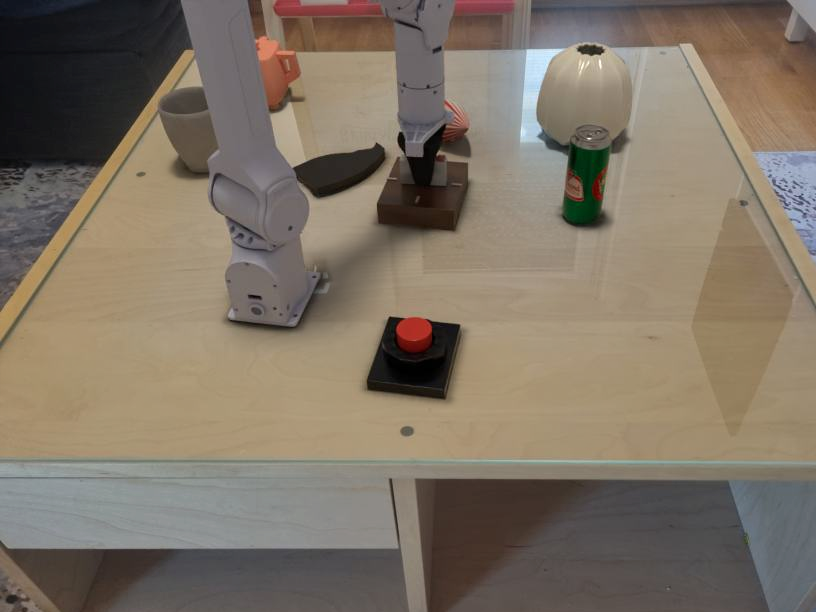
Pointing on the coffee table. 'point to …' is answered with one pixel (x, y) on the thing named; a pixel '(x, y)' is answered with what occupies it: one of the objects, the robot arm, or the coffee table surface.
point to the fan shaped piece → (339, 169)
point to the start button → (414, 334)
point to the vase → (584, 92)
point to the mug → (189, 126)
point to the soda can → (586, 174)
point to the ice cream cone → (455, 121)
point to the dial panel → (423, 199)
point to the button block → (415, 362)
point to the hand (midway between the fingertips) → (424, 178)
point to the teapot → (276, 69)
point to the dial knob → (438, 173)
